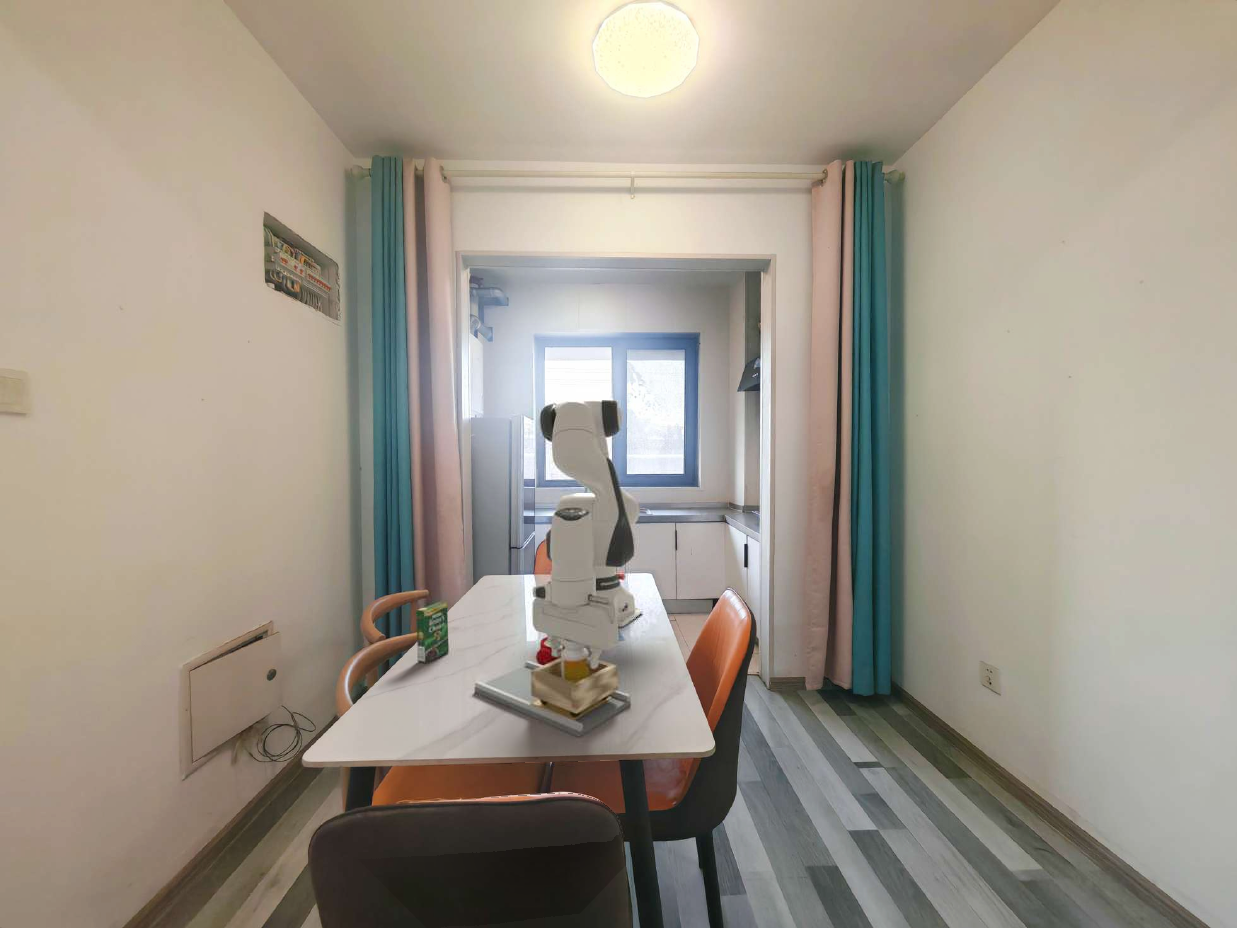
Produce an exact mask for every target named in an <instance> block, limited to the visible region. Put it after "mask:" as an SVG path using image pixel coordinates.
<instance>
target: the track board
mask: <svg viewBox="0 0 1237 928" xmlns="http://www.w3.org/2000/svg"><path fill="white" fill-rule="evenodd" d="M541 666H543V665H540V664H539V663H538V662H535V661H530V660H526V661H525V664H524V666H521V667H519V668H517V669H514V670H511V671H510V672H507V673H505V674H503V675H501V676H498V677H496V678H493V679H491V680H489V681H486V682H481V681H479V680H477V681H475V682H474V693H475V694H476V693H477V694H479V695H481V696H482V697H485V698H487V697H488V699H490V700H492V701H494V702H496V703H497V702H498V703H499V702H500V703H499V704H501V705H504V706H506V707H508V706H509V708H510V709H513V710H515V711H518V712H520V713H523V714H524V715H527V716H528V717H531V718H534V719H536V720H539V721H541V722H543V723H545V724H547V725H550V726H551V727H555V728H557V729H559V730H561V731H564V732H566V733H568V734H570V735H573V736H575V737H576V738H581V737H582V736H584V735H586V734H587V733H589V732H590V731H592V730H593V729H595V728H597V727H598V726H600V725H601V724H602V723H604V722H606V721H607V720H609V719H610V718H612V717H614V716H615V715H617V714H619V713H620V712H622V711H623V710H624V709H626V708H628V707H630V706H631V694H628V693H626V692H622V691H621V690H616V691H615V692H613V693H611V694H610V696H609V698H607V699H605V700H602V699H601V700H599V701H597V702H596V703H594V704H592V705H591V706H589V707H587V708H585V709H584V710H582V711H581V714H580V715H578V716H576V717H573V716H572V715H571V714H570V711H569V710H566V709H564V708H561V707H559V706H556V705H554V704H551V703H548V704H546V705H543V704H542V703H541V701H540V699H538V698H536V697H533V696H531V671H532V670H534V669H537V668H539V667H541Z"/></svg>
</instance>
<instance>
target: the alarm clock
mask: <svg viewBox="0 0 1237 928" xmlns="http://www.w3.org/2000/svg"><path fill="white" fill-rule="evenodd" d="M558 641H559V644H560V646H561V647H563V650H564V649H565V647H564V639H563V638H560V637H558ZM539 644H540V645H539V646H540V648H539V650H537V652H536V661H537V662H536V663H537V664H540V665H546V664H548V663H550V662H553V661H555V660H557V659H559V658H561V657H559V658H557V657H554V656H552V648H551V646H550V644H549V642H548V640H547V636H546V637H544V638H542V639H541V641H540V643H539Z"/></svg>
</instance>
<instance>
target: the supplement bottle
mask: <svg viewBox="0 0 1237 928" xmlns="http://www.w3.org/2000/svg"><path fill="white" fill-rule="evenodd" d="M585 646H586V645H585V644H581V643H578V642H574V641H571V640H567V639H564V647H565V649H564V650H563V651H562V652H561V678H563V679H566V680H569V681H572V682H574V683H577V682H579V681H581V680H583V679H585V678H587V677H589V673H588V667H587V658H588V657H589V651H588V650H587V648H585Z"/></svg>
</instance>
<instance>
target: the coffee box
mask: <svg viewBox="0 0 1237 928" xmlns="http://www.w3.org/2000/svg"><path fill="white" fill-rule="evenodd" d="M415 612H416V613H415V614H416V637H417V639H416V642H417V662H418V663H421V664H427V663H429V662H431V661H433V660H435V659H437V658H440V657H443V656H444V655H446V654H448V653H449V648H450V647H449V646H450V645H449V621H448V620H449V617H448V602H445V601H437V602H435V603H432V604H430V605H428V606H425V607H421V608H419V609H417V610H416V611H415Z"/></svg>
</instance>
